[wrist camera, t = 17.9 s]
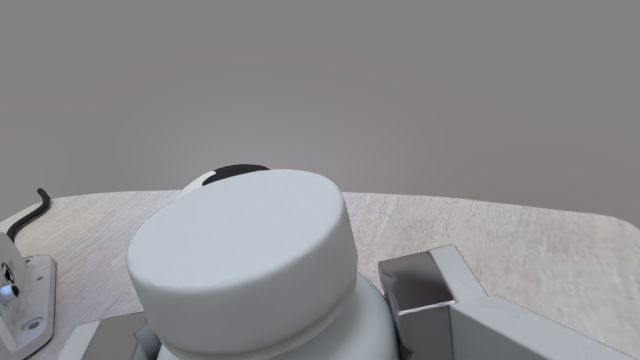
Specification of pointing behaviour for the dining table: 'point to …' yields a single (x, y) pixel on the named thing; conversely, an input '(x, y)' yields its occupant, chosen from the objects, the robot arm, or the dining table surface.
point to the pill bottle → (259, 274)
